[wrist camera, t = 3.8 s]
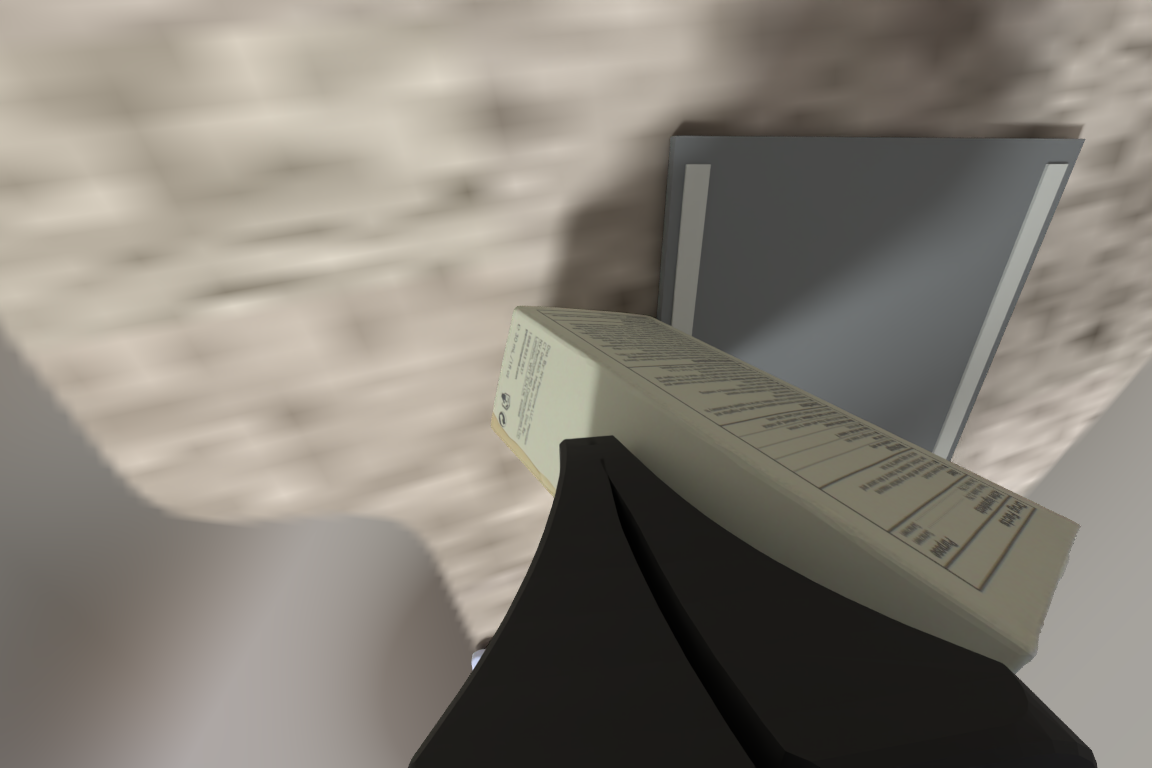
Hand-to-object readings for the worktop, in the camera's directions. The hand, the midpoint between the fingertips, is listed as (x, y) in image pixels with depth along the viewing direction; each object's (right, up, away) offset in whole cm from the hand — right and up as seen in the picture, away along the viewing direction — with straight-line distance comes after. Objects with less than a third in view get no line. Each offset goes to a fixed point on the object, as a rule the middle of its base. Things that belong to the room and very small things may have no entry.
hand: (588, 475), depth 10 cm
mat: (+10, +3, +9) cm, 14 cm away
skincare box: (0, +3, +6) cm, 7 cm away
